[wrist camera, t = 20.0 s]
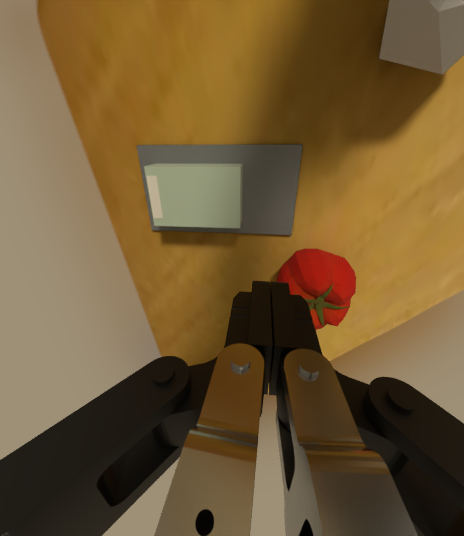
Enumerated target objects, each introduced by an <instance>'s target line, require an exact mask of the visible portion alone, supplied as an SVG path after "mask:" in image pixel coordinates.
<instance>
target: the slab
mask: <svg viewBox="0 0 464 536" xmlns="http://www.w3.org/2000/svg"><path fill="white" fill-rule="evenodd" d="M144 169H145V175H146V181H147V186H148V192H149V198H150V203H151V209H152V215H153V221H154V226H179V227H212V228H240V227H241V222H242V193H243V164H152V165H148V166H144Z"/></svg>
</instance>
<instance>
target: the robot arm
mask: <svg viewBox="0 0 464 536" xmlns="http://www.w3.org/2000/svg"><path fill="white" fill-rule="evenodd" d="M268 384H269V395H276V396H277V412H276V426H277V435H278V444H279V452H280V461H281V469H282V478H283V485H284V500H285V531H286V536H464V424H463V423H462V422H461V421H459V420H458V419H456V418H455V417H454V416H452V415H451V414H450V413H448V412H447V411H445V410H444V409H443V408H441V407H440V406H438V405H437V404H436V403H434V402H433V401H432V400H430V399H429V398H427V397H426V396H425V395H423V394H422V393H420V392H419V391H417V390H416V389H415V388H413V387H412V386H410V385H409V384H407V383H405V382H403V381H401V380H398V379H395V378H390V377H379V378H376V379H374V380H373V381H372V382H371V383H370V385H369V384H366V383H363V382H360V381H358V380H355V379H352V378H349V377H347V376H345V375H342V374H341V373H339V372H337V371H336V370H334V368H333V366H332V365H331V363H330V362H329V361H328V360H327V359H326V358H325V357H324V356H323V355H322V352H321V348H320V345H319V341H318V337H317V334H316V330H315V327H314V323H313V319H312V316H311V312H310V308H309V305H308V303H307V302H306V300H305V299H304V298H303V297H302V296H301V295H291V294H290V288H289V283H285V282H271V283H270V282H266V281H253V283H252V292H239V293H238V294H237V295H236V296H235V297H234V299H233V304H232V309H231V316H230V320H229V326H228V331H227V336H226V342H225V346H224V349H223V350H222V351H221V352H220V353H219V355H218V356H217V357H216V358H215V359H213V360H211V361H209V362H207V363H203V364H198V365H193V366H188V365H187V364H186V362H185V361H184V360H182V359H180V358H178V357H175V356H165V357H161V358H158V359H155V360H154V361H152V362H150V363H149V364H147V365H146V366H144V367H143V368H141V369H140V370H138V371H136V372H135V373H133V374H132V375H130V376H129V377H127V378H126V379H124V380H123V381H121V382H120V383H118V384H117V385H115V386H113V387H112V388H110V389H109V390H107V391H106V392H104V393H103V394H101V395H100V396H98V397H97V398H95V399H93V400H92V401H90V402H89V403H87V404H86V405H85V406H83V407H81V408H80V409H78V410H77V411H75V412H73V413H72V414H71V415H69V416H67V417H66V418H64V419H63V420H61V421H60V422H58V423H57V424H55V425H54V426H52V427H50V428H49V429H47V430H46V431H44V432H43V433H41V434H40V435H38V436H37V437H35V438H34V439H32V440H31V441H29V442H28V443H26V444H24V445H23V446H21V447H20V448H18V449H17V450H15V451H14V452H12V453H11V454H9V455H7V456H6V457H4V458H3V459H1V460H0V536H102V535H103V534H104V533H105V532H106V531H107V530H108V529H109V528H110V527H111V526H112V525H113V524H114V523H115V522H116V521H117V520H118V519H119V518H120V517H121V516H122V515H123V514H124V513H125V512H126V511H127V510H128V509H129V507H130V506H132V505H133V504H134V503H135V501H136V500H137V499H138V498H139V497H140V496H141V495H142V494H143V493H144V492H145V491H146V490H147V489H148V488H149V487H150V486H151V485H152V484H153V483H154V482H155V481H156V480H157V479H158V478H159V477H160V476H161V475H162V474H163V473H164V472H165V471H166V470H167V469H168V468H169V467H170V466H171V465H172V464H173V463H174V462H175V461H176V460H177V459H178V458H179V457H180V458H179V461H178V464H177V467H176V470H175V474H174V477H173V480H172V483H171V486H170V489H169V492H168V495H167V498H166V501H165V505H164V507H163V510H162V513H161V517H160V520H159V523H158V526H157V529H156V532H155V535H154V536H250V529H251V517H252V505H253V494H254V481H255V470H256V458H257V446H258V433H259V420H260V417H261V414H262V407H263V397H264V394H266V395H267V393H268Z"/></svg>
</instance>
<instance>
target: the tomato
mask: <svg viewBox="0 0 464 536" xmlns="http://www.w3.org/2000/svg"><path fill="white" fill-rule="evenodd" d="M277 282H285V283H289V288H290V294H291V295H301V296H302V297H303V298H304V299H305V300H306V302H307V303H308V305H309V308H310V312H311V316H312V319H313V323H314V327H315V330H317V329H321V328H323V327H324V326H325V325H326V324H330V325H334V326H338V324H339V323H340V322H341V321H342V320H343V319H344V317H345V315H346V313H347V311H348V309H349V307H350V300H351V297H352V296H353V295H354V294H355V289H356V277H355V272H354V270H353V269H352V267H351V266H350V264H349V263H348V262H347V260H346V259H345V258H343V257H340V256H337V255H334V254H331V253H328V252H325V251H322V250H319V249H302V250H299V251H296V252H295V253H294V254H293V256H292V257H291V258H290V259H289V260H288V261H287V262H286V263H284V264H283V266H282V267H281V270H280V272H279V275H278V277H277Z"/></svg>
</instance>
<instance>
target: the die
mask: <svg viewBox="0 0 464 536" xmlns="http://www.w3.org/2000/svg"><path fill="white" fill-rule="evenodd" d="M463 55H464V0H389V5H388V11H387V16H386V22H385V27H384V33H383V39H382V44H381V50H380V56H379V59H382V60H386V61H390V62H394V63H398V64H402V65H406V66H410V67H414V68H418V69H422V70H426V71H430V72H434V73H438V74H442V75H443V74H444V73H445V72H446V71H447V70H448V69H449V68H450V67H451V66H452V65H454V64H455V63H456V62H457V61H458V60H459V59H460V58H461V57H462V56H463Z"/></svg>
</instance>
